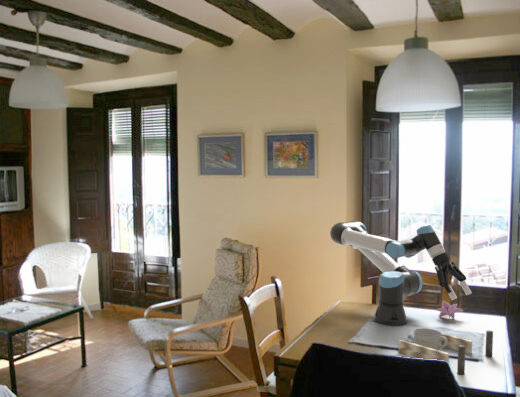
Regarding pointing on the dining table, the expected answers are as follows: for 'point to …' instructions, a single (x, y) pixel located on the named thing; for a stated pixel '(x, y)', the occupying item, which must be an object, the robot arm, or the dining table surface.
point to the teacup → (429, 338)
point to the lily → (448, 309)
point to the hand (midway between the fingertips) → (462, 296)
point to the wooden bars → (453, 343)
